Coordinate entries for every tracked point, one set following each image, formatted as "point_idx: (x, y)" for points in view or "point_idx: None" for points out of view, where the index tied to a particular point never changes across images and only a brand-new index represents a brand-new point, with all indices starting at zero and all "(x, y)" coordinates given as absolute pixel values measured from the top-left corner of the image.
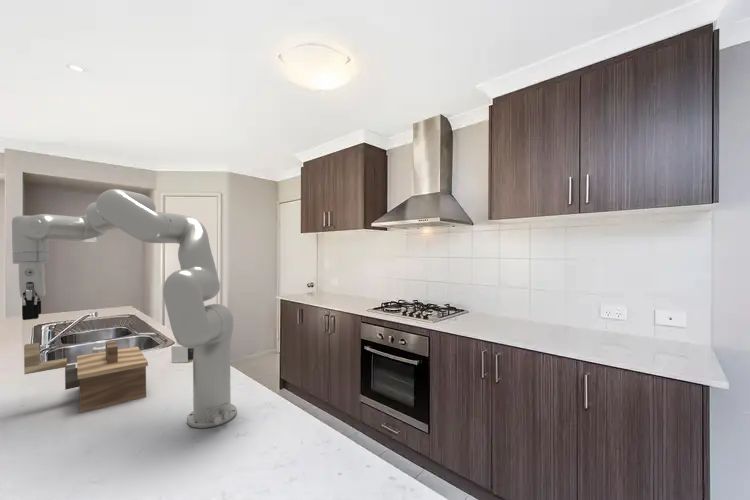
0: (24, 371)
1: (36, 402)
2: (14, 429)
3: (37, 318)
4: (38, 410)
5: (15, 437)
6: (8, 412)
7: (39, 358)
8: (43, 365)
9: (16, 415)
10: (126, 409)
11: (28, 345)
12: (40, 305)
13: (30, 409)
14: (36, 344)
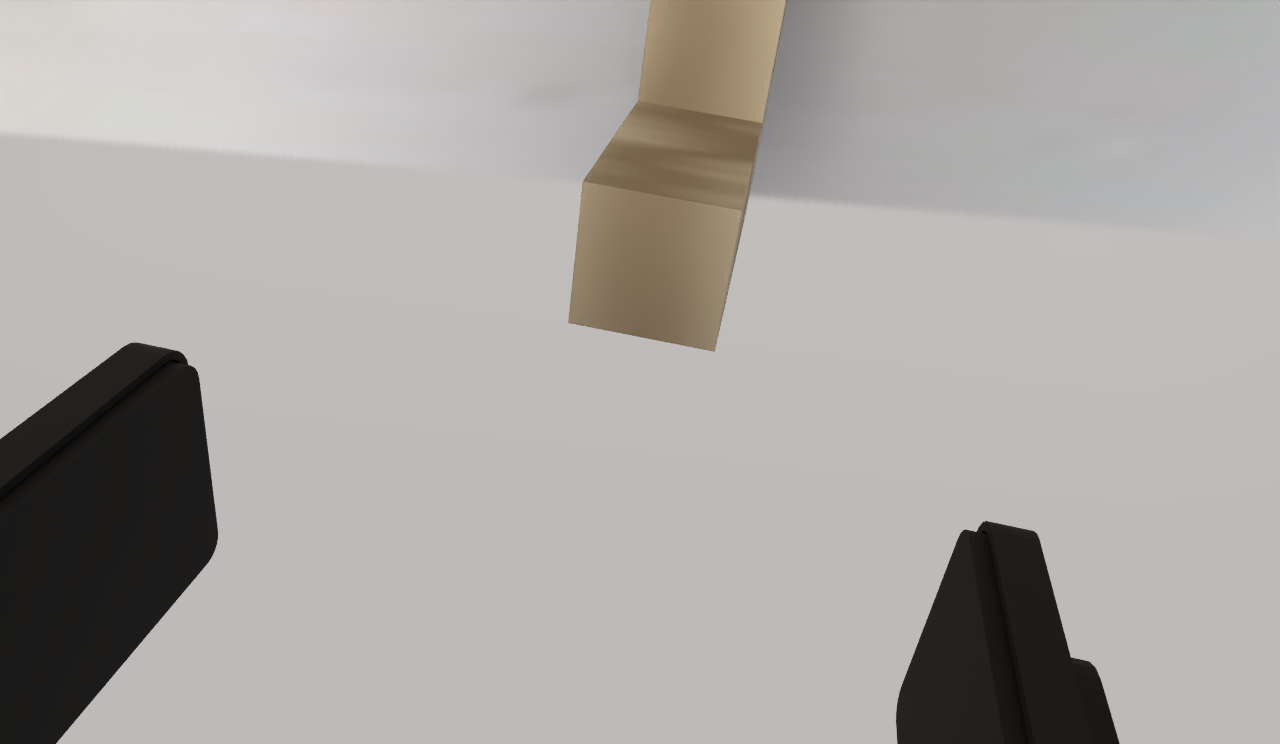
0: (743, 222)
1: (551, 13)
2: (1026, 181)
3: (1022, 534)
4: None
5: (1192, 191)
6: None
7: (655, 121)
8: (769, 78)
9: None
10: None
11: (679, 306)
12: (30, 471)
13: None
14: (698, 228)
